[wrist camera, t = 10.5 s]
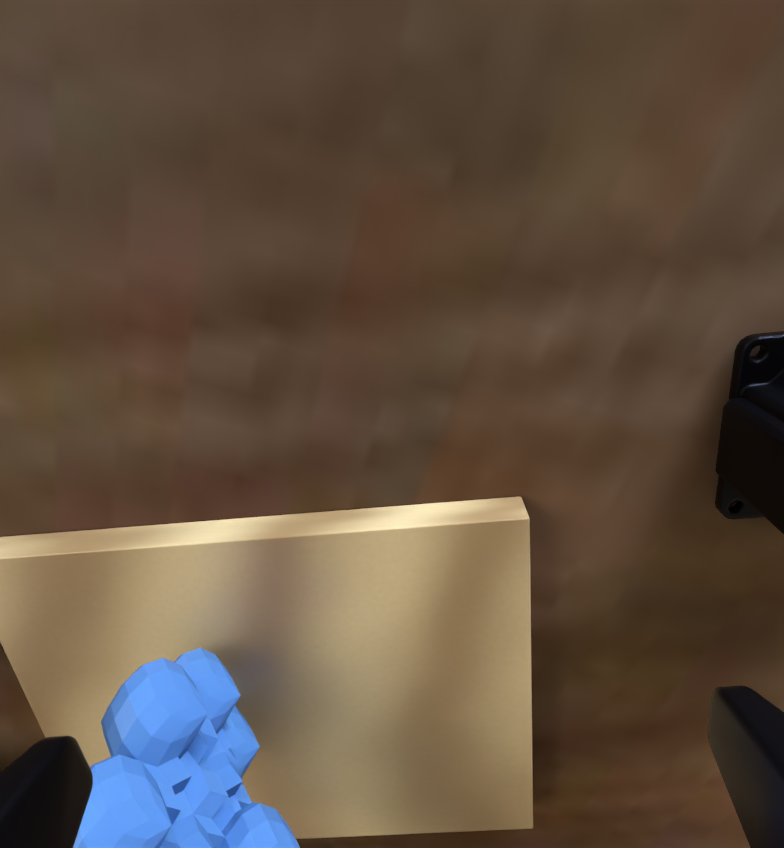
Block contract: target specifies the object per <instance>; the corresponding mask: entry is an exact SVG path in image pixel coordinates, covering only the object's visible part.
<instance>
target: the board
mask: <svg viewBox="0 0 784 848" xmlns="http://www.w3.org/2000/svg"><path fill="white" fill-rule="evenodd" d="M0 642H1V644H2V646H3V648H4V650H5V653H6V655H7V657H8V659H9V661H10V663H11V665H12V668H13V670H14V672H15V674H16V676H17V678H18V680H19V682H20V685H21V687H22V689H23V691H24V693H25V695H26V697H27V700H28V702H29V704H30V706H31V708H32V710H33V712H34V714H35V717H36V719H37V721H38V723H39V725H40V727H41V729H42V731H43V734H44V736H45V738H47V737H55V736H72V737H74V738H75V739H76V740H77V742H78V744H79V746H80V748H81V750H82V752H83V754H84V757H85V759H86V761H87V763H88V765H89V767H91V766H92V765H93V764H96V763H98V762H100V761H102V760H105V759H107V758H109V757H111V755H110V752H109V749H108V746H107V743H106V740H105V737H104V734H103V729H102V725H101V720H102V718H103V716H104V714H105V712H106V710H107V708H108V706H109V704H110V703H111V701H112V699H113V698H114V696H115V695H116V693H117V691H118V690H119V688H120V687H121V685H122V684H123V683H124V682H125V681H126V680H127V679H128V678H129V677H130V676H131V675H132V674H133V673H134V672H135V671H136V670H137V669H138V668H139V667H140V666H142V665H144V664H146V663H149V662H152V661H155V660H158V659H161V658H165V659H167V660H170V661H172V662H174V661H175V660H176V659H177V658H178V657H179V656H180V655H182V654H184V653H186V652H189V651H192V650H195V649H198V648H202V649H205V650H207V651H209V652H211V653H214V654H215V655H216V656H217V657H218V659H219V660H220V661H221V662H222V664H223V665H224V666H225V668H226V669H227V671H228V672H229V674H230V676H231V678H232V679H233V681H234V683H235V685H236V687H237V689H238V691H239V693H240V695H241V696H240V697H239V699H238V701H237V703H236V705H235V706H236V707H237V709H238V710H239V711H240V713H241V714H242V715H243V716H244V718H245V719H246V721H247V722H248V724H249V726H250V728H251V730H252V732H253V734H254V736H255V738H256V740H257V742H258V744H259V746H260V747H259V749H258V751H257V753H256V755H255V757H254V758H253V760H252V762H251V764H250V766H249V767H248V769H247V771H246V772H245V774H244V776H243V777H242V780H243V782H242V785H244V786H245V789H246V791H247V793H248V795H249V797H250V800H251V802H254V803H259V804H263V805H266V806H269V807H272V808H276V810H277V811H278V812H279V814H280V815H281V816H282V818H283V819H284V820H285V821H286V823H287V824H288V825H289V827H290V829H291V831H292V833H293V835H294V836H295V838H296V839H306V838H329V837H352V836H374V835H397V834H420V833H443V832H466V831H489V830H512V829H532V828H533V764H532V678H531V592H530V518H529V516H528V513H527V510H526V508H525V505H524V503H523V500H522V497H507V498H495V499H482V500H469V501H456V502H443V503H431V504H418V505H405V506H392V507H379V508H367V509H354V510H341V511H328V512H315V513H302V514H290V515H277V516H264V517H251V518H238V519H226V520H213V521H200V522H187V523H174V524H161V525H149V526H136V527H123V528H110V529H97V530H85V531H72V532H59V533H46V534H33V535H20V536H8V537H0Z"/></svg>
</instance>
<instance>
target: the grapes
mask: <svg viewBox="0 0 784 848" xmlns="http://www.w3.org/2000/svg"><path fill="white" fill-rule="evenodd" d="M240 696H241V695H240V693H239V691H238V689H237V687H236V685H235V683H234V681H233V679H232V678H231V676H230V674H229V672H228V671H227V669H226V668H225V666H224V665H223V664H222V662H221V661H220V660H219V659H218V657H217V656H216V655H215V654H214V653H211V652H209V651H207V650H205V649H202V648H198V649H195V650H192V651H189V652H186V653H184V654H182V655H180V656H179V657H178V658H177V659H176V660H175V661H174V662H172V661H170V660H167V659H165V658H161V659H158V660H155V661H152V662H149V663H146V664H144V665H142V666H140V667H139V668H138V669H137V670H136V671H135V672H134V673H133V674H132V675H131V676H130V677H129V678H128V679H127V680H126V681H125V682H124V683H123V684H122V685H121V687H120V688H119V690H118V691H117V693H116V695H115V696H114V698H113V699H112V701H111V703H110V704H109V706H108V708H107V710H106V712H105V714H104V716H103V718H102V720H101V725H102V729H103V734H104V737H105V740H106V743H107V746H108V749H109V752H110V755H111V757H109V758H107V759H105V760H102V761H100V762H98V763H96V764H93V765H92V766H91V767H90V769H91V771H92V776H93V785H92V790H91V794H90V797H89V800H88V803H87V806H86V810H85V813H84V816H83V819H82V822H81V825H80V828H79V831H78V834H77V837H76V840H75V843H74V846H73V848H300V846H299V844H298V842H297V840H296V838H295V836H294V835H293V833H292V831H291V829H290V827H289V825H288V824H287V823H286V821H285V820H284V819H283V818H282V816H281V815H280V814H279V812H278V811H277V810H276V808H272V807H269V806H266V805H263V804H259V803H254V802H251V800H250V797H249V795H248V793H247V791H246V789H245V786H244V785H242V782H243V780H242V777H243V776H244V774H245V772H246V771H247V769H248V767H249V766H250V764H251V762H252V760H253V758H254V757H255V755H256V753H257V751H258V749H259V747H260V746H259V744H258V742H257V740H256V738H255V736H254V734H253V732H252V730H251V728H250V726H249V724H248V722H247V721H246V719H245V718H244V716H243V715H242V714H241V713H240V711H239V710H238V709H237V707H236V706H235V705H236V703H237V701H238V699H239V697H240Z"/></svg>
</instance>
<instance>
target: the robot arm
mask: <svg viewBox="0 0 784 848" xmlns="http://www.w3.org/2000/svg"><path fill="white" fill-rule="evenodd" d="M758 345H759V346H760V350H759V352H758V354H757V355H755V356H754V357H750V353H751V350H752V349H753V348H754V347H755V346H758ZM716 473H717V474H718V475H719V478H718V485H717V493H716V500H715V504H716V508H717V509H718V510H719V511H720V513H721V514H722V515H723V516H725V517H726V518H728V519H743V518H757V517H766V518H767V519H768V520H769V521H770V522H771V523H772V524H773V525H774V526H776V527H777V528H778V529H779V530H780V531H781V532H782V533H783V534H784V332H773V333H762V334H753V335H749V336H746V337H745V338H743V339H742V340H741V341H740V342H739V344H738V345H737V347H736V350H735V356H734V363H733V371H732V379H731V386H730V394H729V400H728V402H727V403H726V404H725V406H724V408H723V415H722V423H721V431H720V438H719V446H718V454H717V462H716ZM736 500H737V502H736V504H735V505H734V506H732V507H729V505H730V503H732V502H733V501H736ZM708 738H709V743H710V746H711V749H712V752H713V755H714V757H715V760H716V762H717V765H718V767H719V770H720V772H721V775H722V777H723V780H724V782H725V785H726V787H727V790H728V792H729V794H730V797H731V799H732V802H733V804H734V807H735V809H736V812H737V814H738V817H739V819H740V822H741V824H742V827H743V829H744V832H745V834H746V837H747V839H748V842H749V844H750V847H751V848H784V712H782V711H781V710H780V709H778V708H777V707H776V706H774V705H773V704H772V703H770V702H769V701H767V700H766V699H765V698H763V697H762V696H761V695H759V694H758V693H757V692H755V691H754V690H752V689H750V688H748V687H746V686H730V687H718V688H716V689H715V690H714V691H713V692H712V696H711V706H710V715H709V724H708ZM92 785H93V776H92V771H91V769H90V767H89V765H88V763H87V761H86V759H85V757H84V754H83V752H82V750H81V748H80V746H79V744H78V742H77V740H76V739H75V738H74V737H72V736H55V737H47V738H44V739H41V740H40V741H38V742H37V743H36V744H34V745H33V746H32V747H31V748H29V749H28V750H27V751H26V752H25V753H23V754H22V755H21V756H20V757H19V758H17V759H16V760H15V761H14V762H13V763H11V764H10V765H9V766H8V767H6V768H5V769H4V770H3V771H2V772H0V848H73V846H74V843H75V840H76V837H77V834H78V831H79V828H80V825H81V822H82V819H83V816H84V813H85V810H86V806H87V803H88V800H89V797H90V794H91V790H92Z"/></svg>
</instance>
